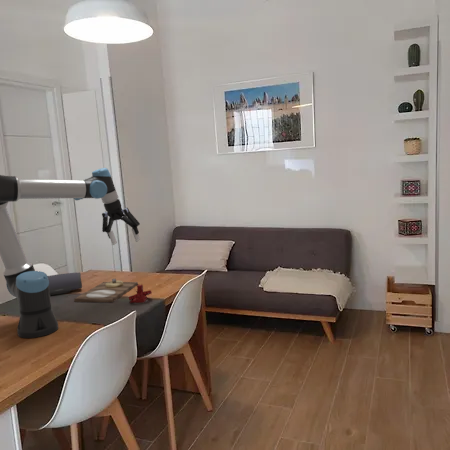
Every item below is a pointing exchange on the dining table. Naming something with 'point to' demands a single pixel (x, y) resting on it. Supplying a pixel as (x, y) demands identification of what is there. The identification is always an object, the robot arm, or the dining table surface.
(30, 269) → the robot arm
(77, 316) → the dining table surface
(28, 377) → the dining table surface
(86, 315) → the dining table surface
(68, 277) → the bluetooth speaker
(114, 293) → the gear board
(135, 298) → the red branched block
